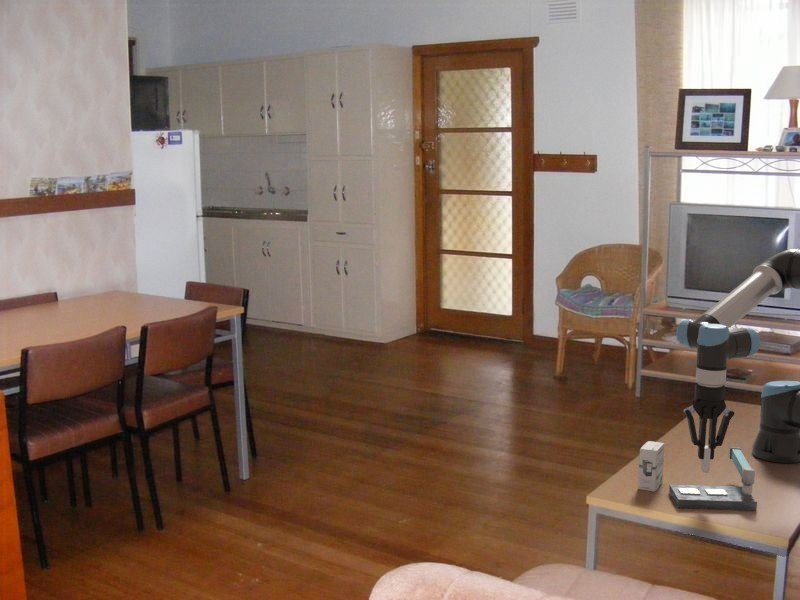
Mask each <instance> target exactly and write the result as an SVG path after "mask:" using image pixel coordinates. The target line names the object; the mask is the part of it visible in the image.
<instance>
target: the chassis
mask: <svg viewBox="0 0 800 600" xmlns="http://www.w3.org/2000/svg"><path fill="white" fill-rule="evenodd" d="M668 489H669V491H668V495H669V496H670V497H671V500H672V501H673V503H674V504H675V506H676V508H677V509H682V510H683V509H685V510H710V511H711V510H714V511H715V510H716V511H739V512H740V511H747V512H749V511H751V512H757V510H758V509H757V507H758V501H757V500H756V499H755V498H754V496H753V484H744V483H742V486H733V485H731V486H729V485H727V486H726V485H698V484H697V485H691V484H669V488H668Z"/></svg>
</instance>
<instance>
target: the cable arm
mask: <svg viewBox="0 0 800 600" xmlns="http://www.w3.org/2000/svg"><path fill="white" fill-rule="evenodd" d="M729 459H730V460H732V463H733V464H734V466H735V468H736V469H737V472H738V473H739V475H740V477H741V481H740V482H741V483H742V484H743V483H744V484H752V485H754V484H755V476H756V469H754V468H752V467H751V465H750V464H749V462H748V460H747V459H746V457H745V456H744V454H743V452H742V448H741V447H740V446H739V447H738V446H730V447H729Z"/></svg>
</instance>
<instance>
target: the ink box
mask: <svg viewBox="0 0 800 600" xmlns="http://www.w3.org/2000/svg"><path fill="white" fill-rule="evenodd" d="M664 459H665V443H664V442H658V441H652V440H648V441H646V442H645V443H644V444H643V445H642V446H641V448H640V449H639V463H638V480H637V481H638V483H637V485H638V486H637V489H638V490H643V491H649V492H656V491H657V490H658V489H659V488H660V486H661V485H663V477H664Z"/></svg>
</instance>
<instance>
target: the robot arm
mask: <svg viewBox="0 0 800 600" xmlns="http://www.w3.org/2000/svg"><path fill="white" fill-rule="evenodd" d="M785 289H796V290H800V247H799V248H797V247H796V248H789V249H786V250H783V251H781V252H778V253H775V254H774V255H772V256H770V257H768V258H767V259H764V260H763V261H762V262H761V263H759V264H758V265H757V266H755V267H754V269H753V271H752V273H751V275H750V276H748V277H747V278H746V279H745V280H743V281H742V282H741V283H740V284H738V286H736V287H735V288H734V289H732V290H731V291H730V292H729V293H728V294H726V295H725V296H724V297H722V299H720V300H719V301H718V302H717V303H715V304H714V305H713V306H712V307H710V308H709V309H708V310H706V311H705V312H704V313H702V315H700V316H698V317H697V319H695V320H694V319H684V320H682V321H680V322H679V324H678V325H677V327H676V332H675V335H676V340H677V342H678V343H679V344H680V345H682V346H684V347H688V348H690V349H695V350H697V351H696V352H697V353H696V355H697V356H696V368H695V369H696V370H695V382H696V383H695V385H694V399H693V401H692V403H691V405H690V406H688V407H683V410H682V411H683V413H684V414H685V416H686V419H687V425H688V430H689V435H690V440H691V443H692V444H693V446H697V447H698V449H697V450H698V451H697V457H698V458H699V460H701V462H700V469H701V471H702V472H703V473H710V466H711V460H714V458H715V449H716V448H717V447H721V446H722V445H723V443H724V439H725V437H726V434H727V432H728V431H727V430H728V427H729V425H730V422H731V420H732V418H733V417H734V416H735V414H736V413H735V412H734V411H733V409H731V408H729V407H727V403H726V401H725V398H726V397H725V396H726V386H725V384H727V366H728V360H732V359H738V358H747V357H750V356H753V355H755V354H757V353H758V351H759V349H760V346H761V338H760V336H759V333H758V332H757V331H755V330H754V329H753V328H751V327H741V328H735V327H733V326H734V325H735V324H737V323H738V321H740V320H741V319H743V318H744V317H745V316H746V315H747V314H749V313H750V312H751V311H752V310H754V309H755V308H756V307H757V306H758V305H759V304H761V303H762V302H763V301H764V300H766V299H767V298H768V297H769V296H771V295H777V294H778V293H780V292H781V291H782V290H785ZM760 398H761V401H760V419H759V429H758V432H757V434H756V436H755V438H754V441H753V443H752V445H751V447H752V448H751V454H752V455H753V456H754V457H756V458H758V459H761V460H763V461H767V462H772V463H779V464H797V463H800V381H796V380H775V381H773V380H772V381H770V382H766V383H765V384H763V386H762V390H761V395H760ZM694 411H695V413H697V415H698V416H699V418H698V419H699V424H698V425H699V427H698V433H697V429H696V424H695V420H694V415H695V413H694ZM721 414H723V416H722V418H721V421H720V425H719V428H718V431H717V425H718V419H719V417H720V416H721ZM708 420H709V425H708V441H707V444H708V445H706V438H707V423H708ZM697 434H698V435H697Z"/></svg>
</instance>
